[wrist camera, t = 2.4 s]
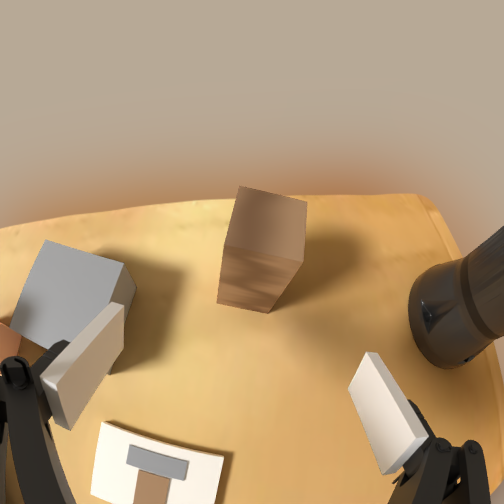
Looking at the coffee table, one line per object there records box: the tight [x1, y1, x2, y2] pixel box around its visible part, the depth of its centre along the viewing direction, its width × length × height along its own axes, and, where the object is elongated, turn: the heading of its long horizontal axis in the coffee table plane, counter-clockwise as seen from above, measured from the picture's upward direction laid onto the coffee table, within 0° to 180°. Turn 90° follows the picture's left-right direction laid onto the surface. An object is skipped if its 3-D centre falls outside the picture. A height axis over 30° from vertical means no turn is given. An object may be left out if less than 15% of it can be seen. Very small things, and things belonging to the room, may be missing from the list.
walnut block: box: [217, 186, 307, 314], centre depth 26 cm, size 6×6×12 cm
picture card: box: [91, 422, 224, 504], centre depth 18 cm, size 12×9×1 cm
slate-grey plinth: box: [9, 240, 137, 375], centre depth 23 cm, size 10×10×6 cm
